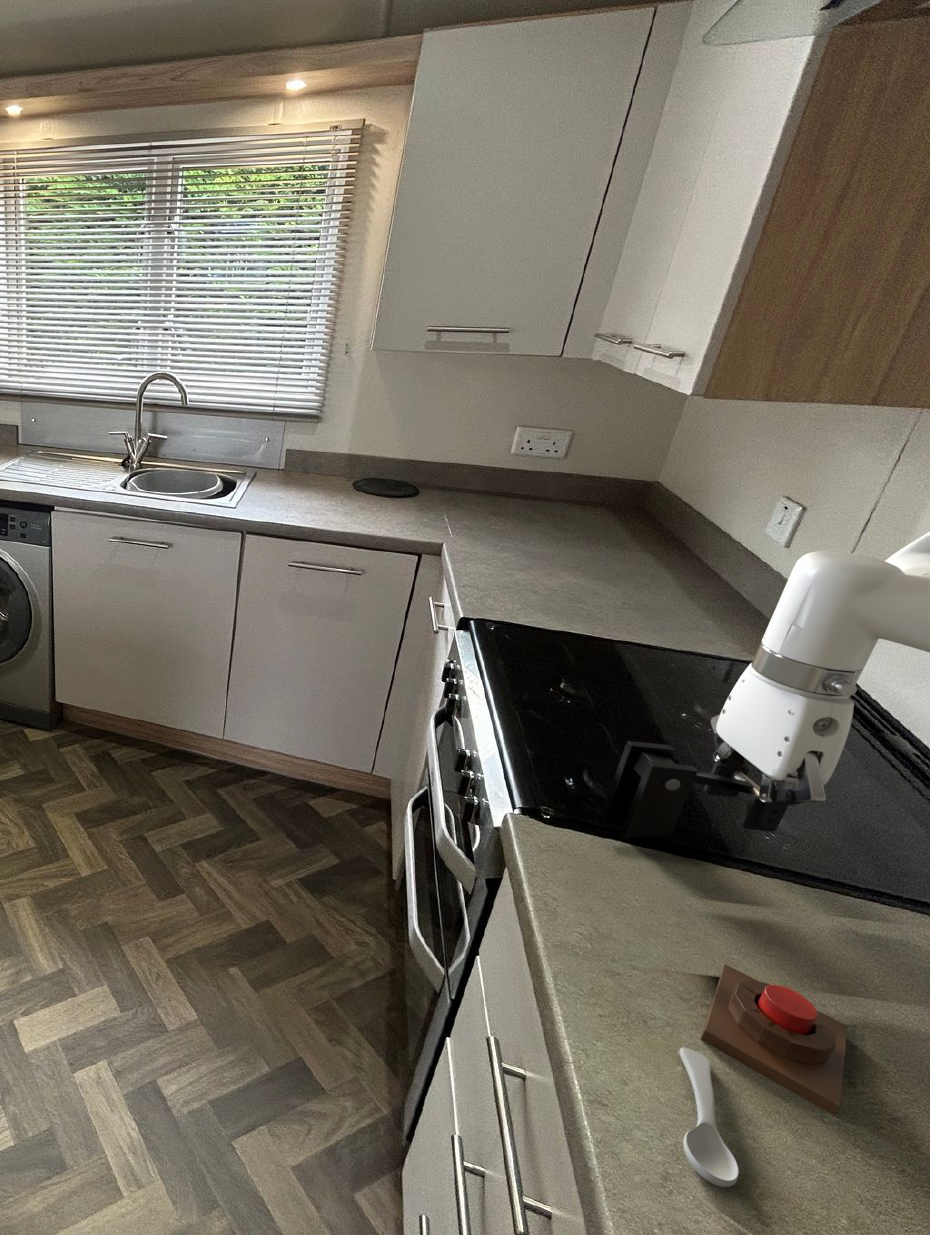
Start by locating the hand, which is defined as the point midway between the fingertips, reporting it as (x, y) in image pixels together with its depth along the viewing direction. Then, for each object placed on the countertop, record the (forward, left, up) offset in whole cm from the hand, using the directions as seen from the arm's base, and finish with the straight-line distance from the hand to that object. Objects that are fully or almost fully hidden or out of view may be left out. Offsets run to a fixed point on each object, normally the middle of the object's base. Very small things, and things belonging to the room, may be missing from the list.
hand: (737, 809), depth 79 cm
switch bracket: (+9, 0, -6) cm, 11 cm away
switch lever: (+5, 0, +2) cm, 6 cm away
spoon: (+22, +34, -6) cm, 41 cm away
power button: (+11, +25, -3) cm, 28 cm away
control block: (+12, +25, -6) cm, 28 cm away
